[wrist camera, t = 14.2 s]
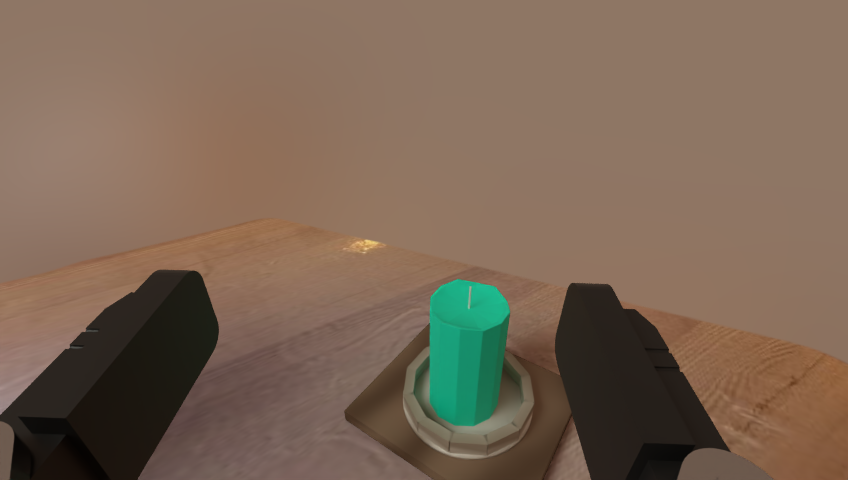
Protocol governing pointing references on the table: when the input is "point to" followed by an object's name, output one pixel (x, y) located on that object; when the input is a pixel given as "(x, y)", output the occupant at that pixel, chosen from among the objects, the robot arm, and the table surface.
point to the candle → (466, 351)
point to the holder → (465, 445)
